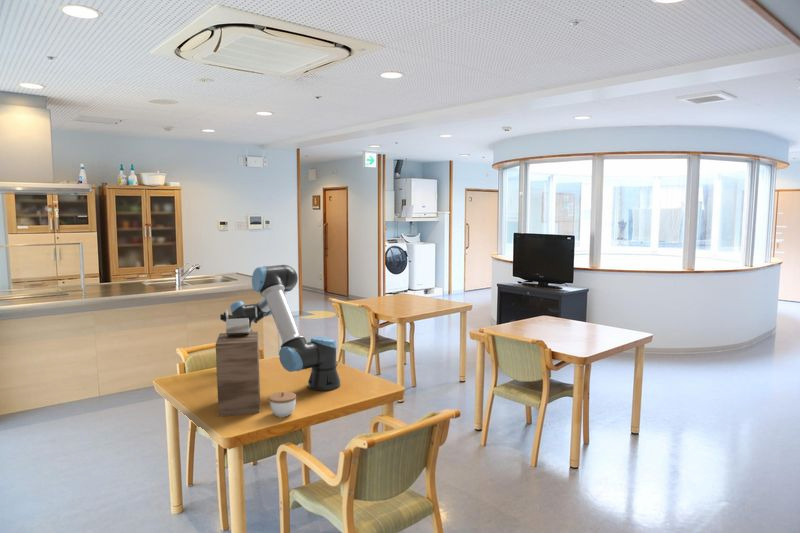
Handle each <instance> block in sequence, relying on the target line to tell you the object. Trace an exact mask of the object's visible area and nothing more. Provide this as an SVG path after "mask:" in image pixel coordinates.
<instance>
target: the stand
mask: <svg viewBox="0 0 800 533" xmlns="http://www.w3.org/2000/svg"><path fill="white" fill-rule="evenodd" d="M259 351H260V350H259V331H258V330H257V331H252V332H249V334H243V335H227V334H226V332H224V333H219V335H218V337H217V339H216V341H215V363H216V384H217V385H216V388H217V408H218V410H217V412H218V416H217V417H227V416H238V415H249V414H250V415H252V414H259V413H260V408H261V407H260V405H261V387H260V385H261V384H260V382H261V381H260V360H259V358H260V357H259V356H260V354H259Z"/></svg>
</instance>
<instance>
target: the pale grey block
mask: <svg viewBox="0 0 800 533" xmlns="http://www.w3.org/2000/svg"><path fill="white" fill-rule="evenodd" d="M225 323H226V324H225V333H226V334H227V335H243V334H249V318H240V319H226V322H225Z"/></svg>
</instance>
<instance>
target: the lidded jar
mask: <svg viewBox="0 0 800 533" xmlns="http://www.w3.org/2000/svg"><path fill="white" fill-rule="evenodd" d="M268 398H269V407H270V410H271V412H272V414H274V416H276V417H277V416H278V417H277V418H285V417H284V416H287V417H289V416H288V415H290V414H292V413H293V412H294V411H295V409H296V404H297V394H296V393H294V392H290V391H281V392H275V393H273V394H271V395H269V397H268ZM290 416H291V415H290Z"/></svg>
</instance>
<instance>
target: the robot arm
mask: <svg viewBox="0 0 800 533" xmlns="http://www.w3.org/2000/svg"><path fill="white" fill-rule="evenodd" d="M251 276H252V277H251V285H252V289H253V291H255V292H258V293H260V296H261V297H262V298H260V300H259V301H258V302H257V303H251V304H245V302H244V301H241V300H238V301H235V302H233V303H231V304H230V306H229V307H230V308H229V309H230V313H229V310H228V308H225V311H224V312H223V314H222V313H221V314H220V316H219V318H220V319H219V320H220V321H222V322H225V323H226V319H240V318H249V332H253V327H252V323H254V324H257V323H258V322H260V320H262V319H263V318H265V317H266V318H267V317H268V316H269V317H270V316H271V315H272V318H273V321H274V323H275V326H276V329H277V331H278V334H279V336H280V339H281V345H280V349H279V351H278V356H279V357H278V359H279V362H280V364H281V366H282V368H283V369H284V370H286V371H287V372H289V373H291V372H292V373H293V372H300V371H303V370H307V369H311V372H310V375H309V378H308V382H307V386H308V388H309V390H312V391H321V392H322V391H331V390H335V389H337V388H339V387H341V379H340V376H339V373H338V369H337V365H336V361H337V343H336V340H335V339H334V338H331V337H327V336H313V337H311V338H310V341H308V342H307V340H306V337H305V336H302V335H301V334H300V331H299V328H298V326H297V324H296V323H297V322H296V321H295V319H294V316H293V314H292V311H291V309H290V306H289V303H288V301H287V298H286V296H285V295H286V294H287V293H288V292H290V291H292V290H293V289H294V288H295V287H296V286H297V283H298V276H299V275H298V273H297V271H296V270H295V269H294V268H293V267H292V266H290V265H288V264H278V265H267V266H266V265H263V266H258V267H256V268H255V269H254V270H253V272H252V275H251Z"/></svg>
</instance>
